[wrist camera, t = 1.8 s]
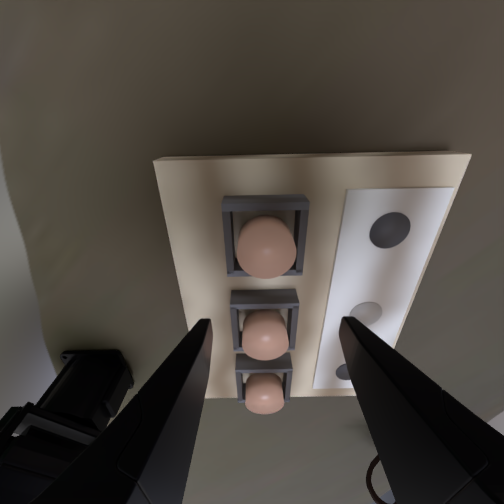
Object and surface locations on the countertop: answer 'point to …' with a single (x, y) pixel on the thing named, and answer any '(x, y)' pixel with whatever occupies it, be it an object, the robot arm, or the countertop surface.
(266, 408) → the button
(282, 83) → the countertop surface
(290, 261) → the button
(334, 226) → the button board
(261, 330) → the middle button
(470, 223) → the countertop surface
